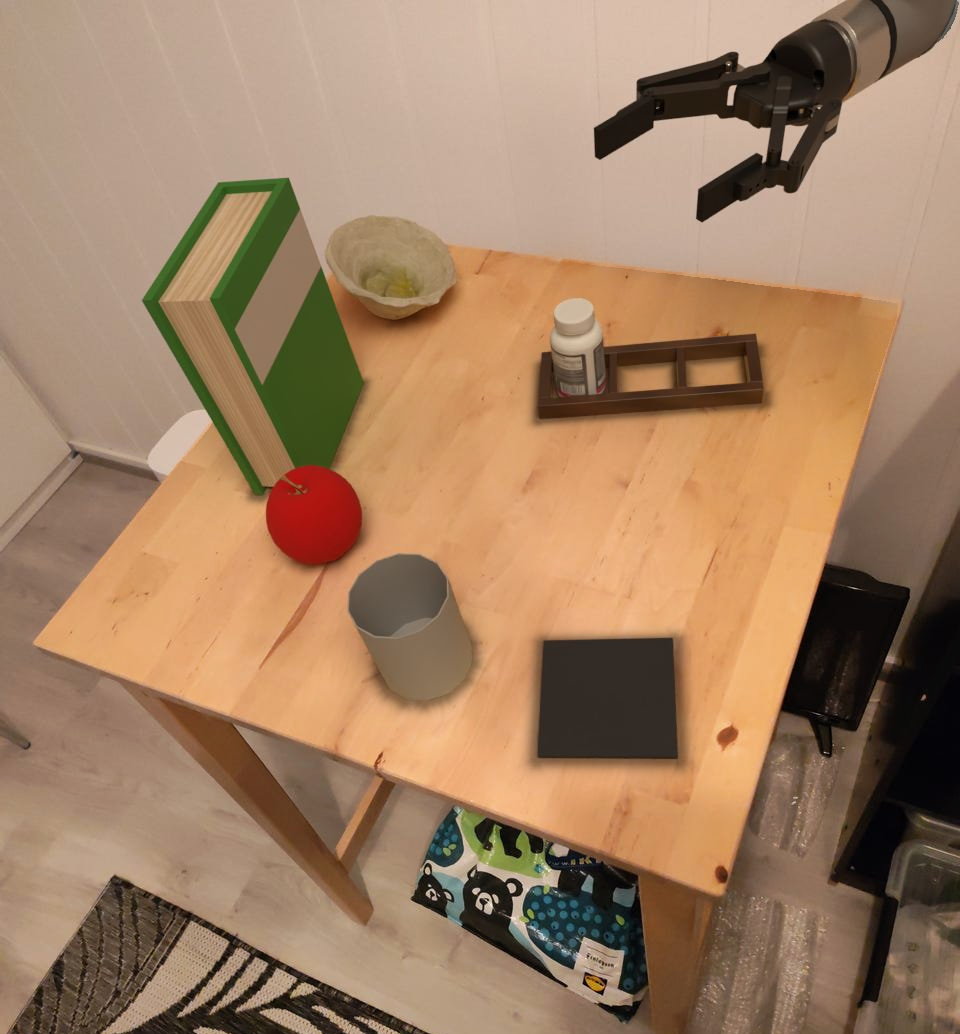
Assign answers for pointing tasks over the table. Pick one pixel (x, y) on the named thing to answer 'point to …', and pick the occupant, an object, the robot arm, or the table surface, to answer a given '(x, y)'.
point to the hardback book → (258, 330)
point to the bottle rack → (661, 397)
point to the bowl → (390, 264)
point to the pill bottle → (577, 349)
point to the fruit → (313, 514)
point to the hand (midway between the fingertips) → (645, 174)
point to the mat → (608, 699)
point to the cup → (411, 625)
